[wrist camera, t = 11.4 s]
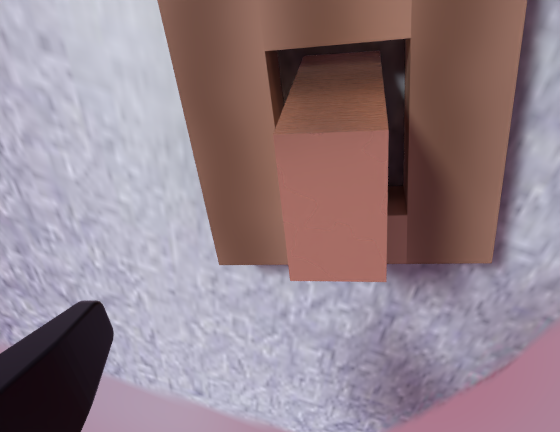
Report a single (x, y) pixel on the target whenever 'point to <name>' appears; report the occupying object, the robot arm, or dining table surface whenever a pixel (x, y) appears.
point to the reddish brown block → (335, 169)
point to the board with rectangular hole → (417, 114)
